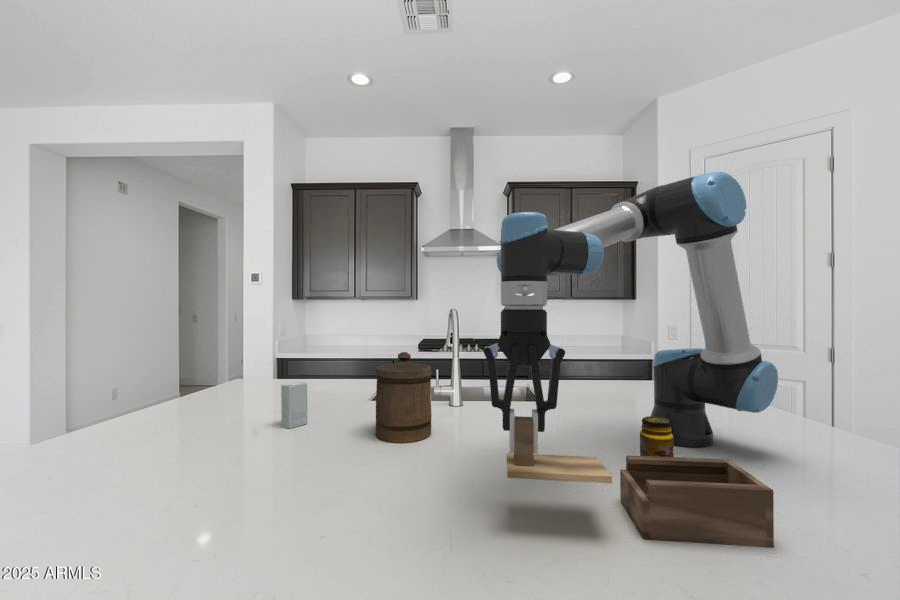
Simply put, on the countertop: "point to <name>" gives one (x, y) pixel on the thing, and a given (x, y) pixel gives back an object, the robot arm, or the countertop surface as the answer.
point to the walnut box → (697, 501)
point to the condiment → (656, 437)
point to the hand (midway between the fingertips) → (523, 450)
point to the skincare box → (294, 404)
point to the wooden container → (403, 401)
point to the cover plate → (549, 461)
